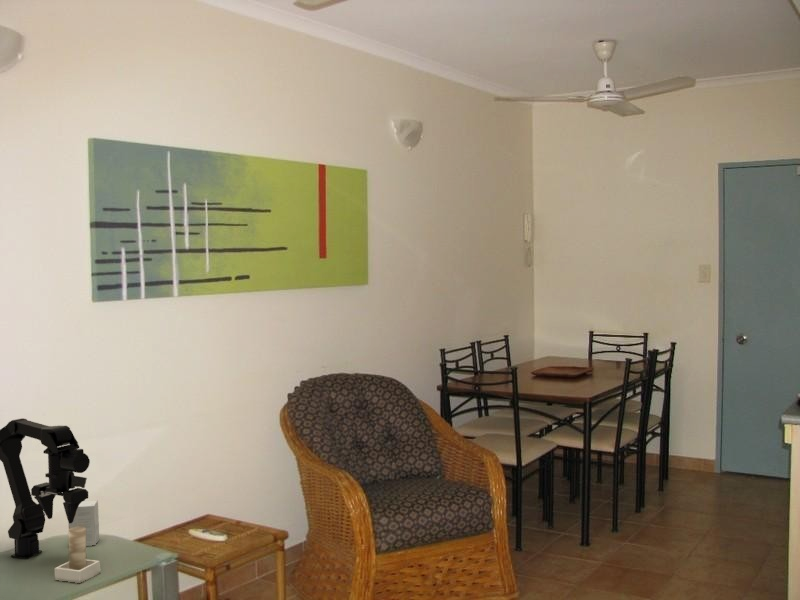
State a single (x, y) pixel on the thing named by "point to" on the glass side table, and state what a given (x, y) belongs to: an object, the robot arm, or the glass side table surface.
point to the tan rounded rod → (77, 548)
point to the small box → (88, 521)
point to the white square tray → (77, 572)
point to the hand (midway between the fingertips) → (60, 520)
